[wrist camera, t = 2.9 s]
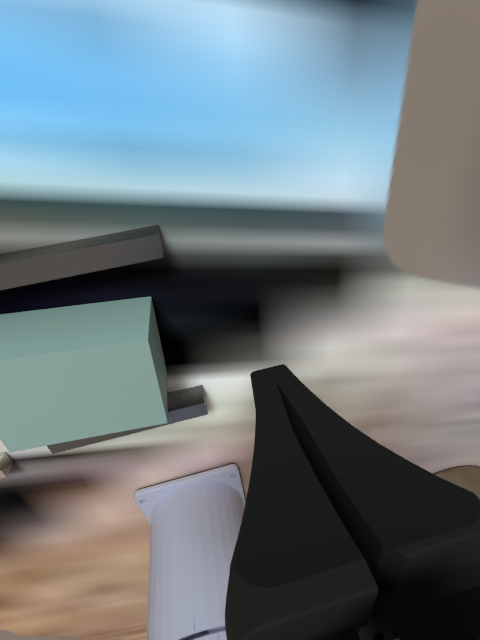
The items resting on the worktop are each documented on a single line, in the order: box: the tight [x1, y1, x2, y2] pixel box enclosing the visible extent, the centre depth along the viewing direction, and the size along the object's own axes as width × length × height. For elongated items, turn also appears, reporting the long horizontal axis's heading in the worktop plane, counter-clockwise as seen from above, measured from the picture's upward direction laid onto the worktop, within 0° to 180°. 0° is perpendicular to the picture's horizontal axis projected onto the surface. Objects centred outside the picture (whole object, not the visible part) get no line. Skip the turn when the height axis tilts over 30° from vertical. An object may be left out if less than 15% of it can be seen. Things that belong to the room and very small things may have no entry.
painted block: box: [0, 297, 167, 452], centre depth 15 cm, size 5×7×4 cm
